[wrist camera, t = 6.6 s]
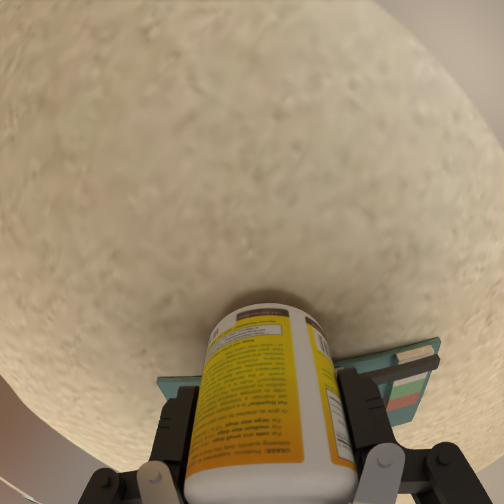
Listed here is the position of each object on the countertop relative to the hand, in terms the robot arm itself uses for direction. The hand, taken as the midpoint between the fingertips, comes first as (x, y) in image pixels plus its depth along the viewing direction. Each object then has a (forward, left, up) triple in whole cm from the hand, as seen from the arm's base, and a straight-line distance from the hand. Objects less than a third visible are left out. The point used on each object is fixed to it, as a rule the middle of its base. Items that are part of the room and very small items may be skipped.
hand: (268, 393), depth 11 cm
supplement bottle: (0, 0, -3) cm, 3 cm away
